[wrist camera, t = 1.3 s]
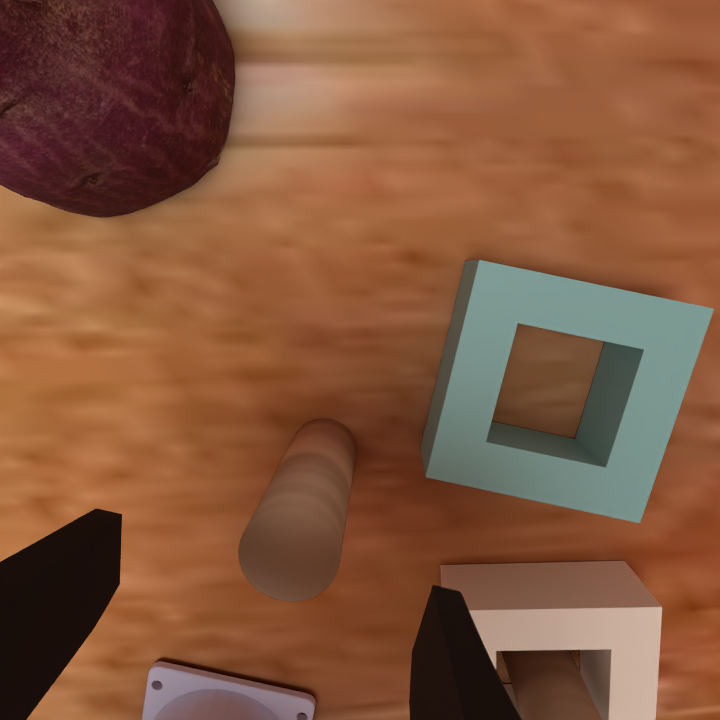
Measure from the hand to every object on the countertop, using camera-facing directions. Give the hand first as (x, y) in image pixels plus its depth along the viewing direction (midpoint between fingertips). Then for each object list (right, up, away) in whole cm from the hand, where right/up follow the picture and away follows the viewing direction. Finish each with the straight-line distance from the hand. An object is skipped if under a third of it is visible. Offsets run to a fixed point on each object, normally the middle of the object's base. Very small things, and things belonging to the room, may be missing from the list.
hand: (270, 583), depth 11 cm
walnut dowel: (+10, -8, +11) cm, 17 cm away
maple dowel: (0, +1, +10) cm, 10 cm away
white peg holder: (+10, -8, +11) cm, 17 cm away
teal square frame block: (+9, +4, +9) cm, 14 cm away
